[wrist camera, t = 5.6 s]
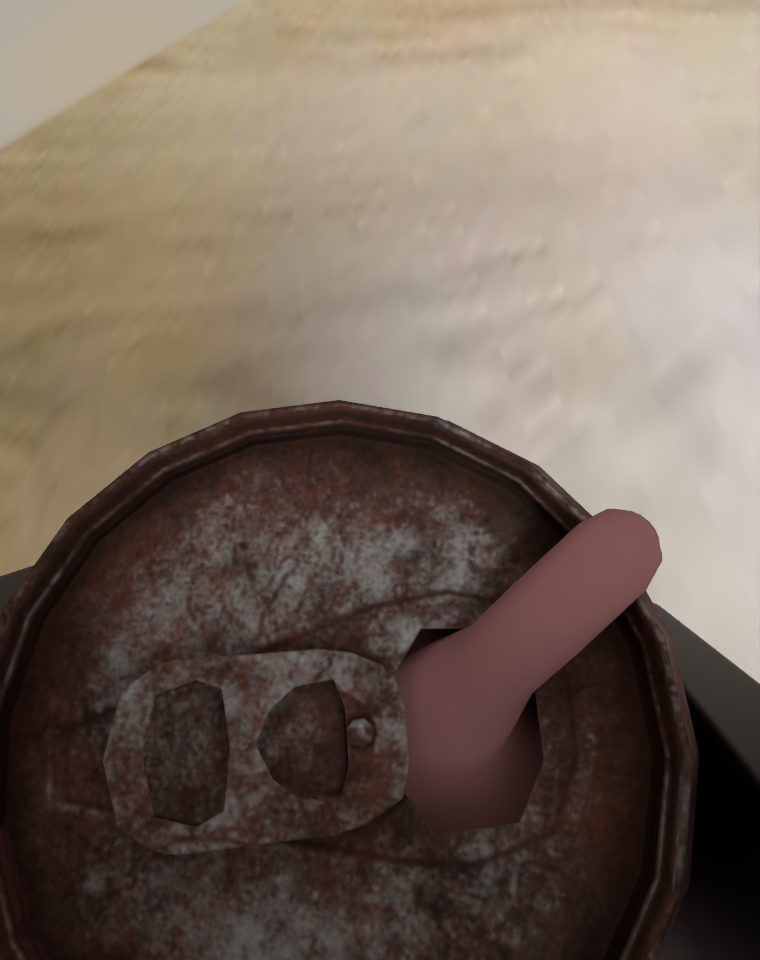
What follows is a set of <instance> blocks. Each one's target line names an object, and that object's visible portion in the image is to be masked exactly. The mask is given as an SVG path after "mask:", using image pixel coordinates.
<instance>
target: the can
mask: <svg viewBox="0 0 760 960" xmlns="http://www.w3.org/2000/svg"><path fill="white" fill-rule="evenodd" d="M661 562H662V552H661V549H660V544H659V537H658V535H657V533H656V530H655V528H654V527H653V526H652V525H651V524H650V522H649V521H648V520H646V519H645V518H644V517H642V516H641V515H639V514H637V513H634V512H632V511H627V510H619V509H606V510H604V511H602V512H600V513H598V514H596V515H594V516H593V517H592V516H591V515H590V514H589V513H588V512H587V511H586V510H585V509H584V508H583V507H582V506H581V505H580V504H579V503H578V502H577V501H576V500H574V499H573V498H572V497H571V496H570V495H569V494H568V493H567V492H566V491H565V490H564V489H563V488H562V487H561V486H560V485H559V484H558V483H556V482H555V481H554V480H553V479H552V478H551V477H550V476H549V475H548V474H547V473H546V472H545V471H544V470H543V469H542V468H541V467H540V466H538V465H536V464H534V463H532V462H530V461H528V460H526V459H524V458H522V457H520V456H518V455H516V454H514V453H512V452H510V451H508V450H506V449H504V448H502V447H500V446H498V445H496V444H494V443H492V442H490V441H488V440H486V439H484V438H482V437H480V436H478V435H476V434H474V433H472V432H470V431H468V430H466V429H464V428H462V427H460V426H458V425H456V424H454V423H452V422H450V421H446V420H443V419H441V418H439V417H436V416H430V415H424V414H418V413H412V412H406V411H400V410H394V409H388V408H382V407H376V406H370V405H365V404H359V403H353V402H347V401H341V400H337V401H329V402H321V403H313V404H305V405H297V406H289V407H281V408H273V409H265V410H257V411H249V412H241V413H239V414H236V415H234V416H232V417H229V418H227V419H225V420H222V421H220V422H218V423H215V424H213V425H211V426H209V427H206V428H204V429H202V430H199V431H197V432H195V433H192V434H190V435H188V436H185V437H183V438H181V439H178V440H176V441H174V442H172V443H169V444H167V445H165V446H162V447H160V448H158V449H155V450H153V451H151V452H149V453H147V454H146V455H145V456H144V457H142V458H141V459H140V460H139V461H137V462H136V463H135V464H134V465H133V466H131V467H130V468H129V469H128V470H126V471H125V472H124V473H123V474H122V475H120V476H119V477H118V478H117V479H115V480H114V481H113V482H112V483H110V484H109V485H108V486H107V487H106V488H104V489H103V490H102V491H101V492H99V493H98V494H97V495H96V496H95V497H93V498H92V499H91V500H90V501H88V502H87V503H86V504H85V505H83V506H82V507H81V508H80V509H79V510H77V511H76V512H75V513H74V514H72V515H71V516H70V517H69V518H68V519H67V520H66V521H65V523H64V524H63V526H62V527H61V528H60V530H59V531H58V533H57V534H56V535H55V537H54V538H53V540H52V541H51V542H50V544H49V545H48V547H47V548H46V550H45V551H44V552H43V554H42V555H41V557H40V558H39V559H38V561H37V562H36V564H35V565H34V566H33V568H32V569H31V571H30V572H29V573H28V575H27V576H26V578H25V579H24V581H23V582H22V583H21V585H20V586H19V588H18V589H17V590H16V592H15V593H14V595H13V596H12V597H11V599H10V600H9V602H8V603H7V604H6V606H5V607H4V609H3V612H2V615H1V617H0V960H659V958H660V956H661V953H662V951H663V948H664V946H665V943H666V941H667V939H668V936H669V934H670V931H671V929H672V926H673V924H674V922H675V919H676V917H677V914H678V912H679V909H680V907H681V905H682V902H683V900H684V897H685V895H686V892H687V890H688V888H689V885H690V876H691V863H692V850H693V836H694V823H695V810H696V797H697V783H698V770H699V757H700V755H699V751H698V747H697V742H696V738H695V734H694V729H693V725H692V720H691V716H690V712H689V707H688V703H687V699H686V694H685V690H684V686H683V681H682V677H681V672H680V668H679V664H678V659H677V655H676V651H675V646H674V642H673V638H672V636H671V634H670V632H669V630H668V629H667V627H666V625H665V623H664V622H663V620H662V618H661V616H660V615H659V613H658V611H657V609H656V608H655V606H654V604H653V602H652V601H651V599H650V597H649V595H648V594H647V592H646V589H647V587H648V585H649V584H650V582H651V580H652V578H653V576H654V574H655V573H656V571H657V569H658V567H659V565H660V564H661Z"/></svg>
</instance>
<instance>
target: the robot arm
mask: <svg viewBox="0 0 760 960" xmlns="http://www.w3.org/2000/svg"><path fill="white" fill-rule="evenodd" d="M32 568H33V566H31V567H28V568H25V569H22V570H18V571H15V572H12V573H9V574H6V575H3V576H0V617H1V615H2V612H3V609H4V607H5V606H6V604H7V603H8V602H9V600H10V599H11V597H12V596H13V595H14V593H15V592H16V590H17V589H18V588H19V586H20V585H21V583H22V582H23V581H24V579H25V578H26V576H27V575H28V573H29V572H30V571H31V569H32ZM653 604H654V606H655V608H656V609H657V611H658V613H659V615H660V616H661V618H662V620H663V622H664V623H665V625H666V627H667V629H668V630H669V632H670V634H671V636H672V638H673V642H674V646H675V651H676V655H677V659H678V664H679V668H680V672H681V677H682V681H683V686H684V690H685V694H686V699H687V703H688V707H689V712H690V716H691V720H692V725H693V729H694V734H695V738H696V742H697V747H698V751H699V755H700V757H699V770H698V783H697V797H696V810H695V823H694V836H693V850H692V863H691V876H690V885H689V888H688V890H687V892H686V895H685V897H684V900H683V902H682V905H681V907H680V909H679V912H678V914H677V917H676V919H675V922H674V924H673V926H672V929H671V931H670V934H669V936H668V939H667V941H666V943H665V946H664V948H663V951H662V953H661V956H660V958H659V960H760V684H759V683H758V682H757V681H755V680H754V679H753V678H752V677H750V676H749V675H748V674H746V673H745V672H744V671H743V670H741V669H740V668H739V667H737V666H736V665H735V664H734V663H732V662H731V661H730V660H728V659H727V658H726V657H725V656H723V655H722V654H721V653H719V652H718V651H717V650H716V649H714V648H713V647H712V646H710V645H709V644H708V643H707V642H705V641H704V640H703V639H701V638H700V637H699V636H698V635H696V634H695V633H694V632H692V631H691V630H690V629H689V628H687V627H686V626H685V625H683V624H682V623H681V622H680V621H678V620H677V619H676V618H674V617H673V616H672V615H671V614H669V613H668V612H667V611H665V610H664V609H663V608H662V607H660V606H659V605H657V604H655V603H653Z"/></svg>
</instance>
